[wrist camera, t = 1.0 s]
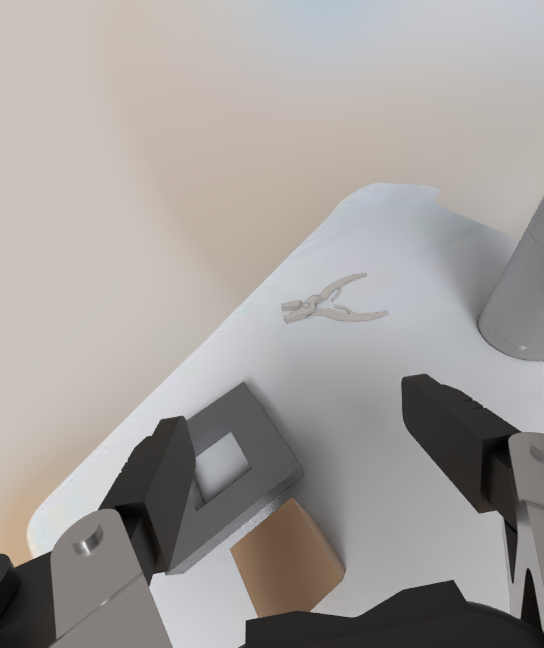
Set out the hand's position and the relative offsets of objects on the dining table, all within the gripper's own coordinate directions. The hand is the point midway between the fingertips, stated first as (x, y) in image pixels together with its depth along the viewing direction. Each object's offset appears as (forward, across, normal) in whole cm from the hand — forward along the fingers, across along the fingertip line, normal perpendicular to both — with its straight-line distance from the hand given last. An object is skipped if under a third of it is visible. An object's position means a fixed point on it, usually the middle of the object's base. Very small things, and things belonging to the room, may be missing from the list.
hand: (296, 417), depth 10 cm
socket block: (+19, +8, +18) cm, 27 cm away
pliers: (+35, -10, +5) cm, 37 cm away
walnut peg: (+10, 0, +22) cm, 24 cm away
